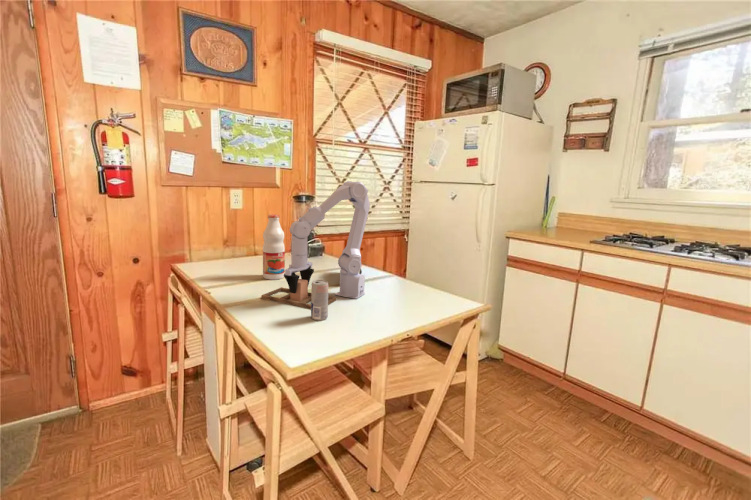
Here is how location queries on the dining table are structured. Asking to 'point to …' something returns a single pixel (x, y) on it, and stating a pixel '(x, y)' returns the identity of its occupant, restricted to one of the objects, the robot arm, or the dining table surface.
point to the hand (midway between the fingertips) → (299, 290)
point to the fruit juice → (273, 250)
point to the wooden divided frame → (287, 300)
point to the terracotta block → (300, 291)
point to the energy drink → (319, 300)
